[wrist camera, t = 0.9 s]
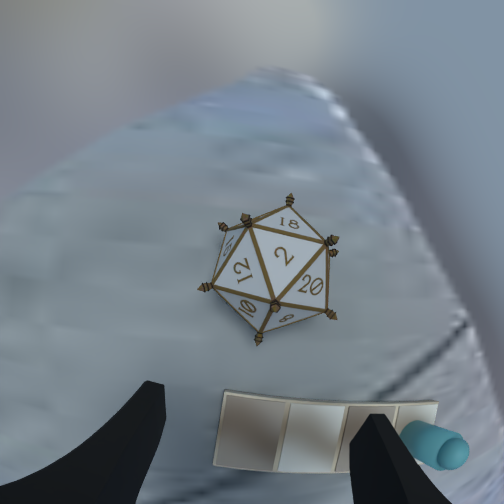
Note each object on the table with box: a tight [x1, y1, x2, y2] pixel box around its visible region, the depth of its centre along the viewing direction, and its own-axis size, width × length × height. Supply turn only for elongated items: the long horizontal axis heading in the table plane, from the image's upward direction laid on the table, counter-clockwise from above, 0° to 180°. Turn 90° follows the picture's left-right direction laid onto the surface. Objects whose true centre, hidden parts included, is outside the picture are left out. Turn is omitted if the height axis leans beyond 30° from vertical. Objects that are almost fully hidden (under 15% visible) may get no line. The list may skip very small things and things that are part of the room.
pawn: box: [399, 420, 469, 471], centre depth 16 cm, size 3×3×7 cm
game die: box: [197, 193, 339, 346], centre depth 20 cm, size 9×8×10 cm
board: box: [213, 389, 439, 473], centre depth 20 cm, size 6×18×1 cm, turn 81°
